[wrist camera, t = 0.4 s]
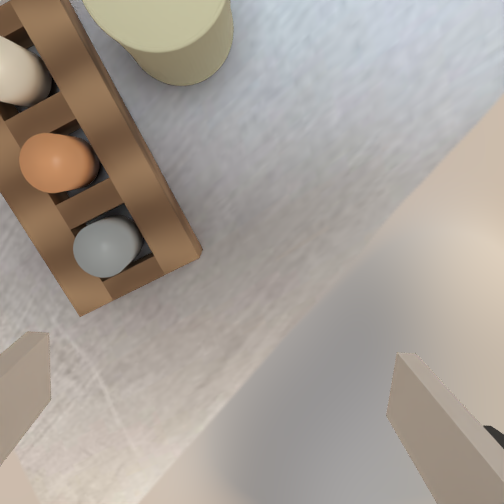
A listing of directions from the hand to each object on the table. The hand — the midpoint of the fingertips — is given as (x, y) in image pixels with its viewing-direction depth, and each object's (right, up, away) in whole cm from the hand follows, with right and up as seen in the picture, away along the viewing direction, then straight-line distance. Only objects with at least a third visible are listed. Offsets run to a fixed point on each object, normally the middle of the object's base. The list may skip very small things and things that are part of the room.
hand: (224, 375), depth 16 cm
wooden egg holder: (-14, +13, +22) cm, 29 cm away
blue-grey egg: (-11, +6, +21) cm, 25 cm away
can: (-5, +24, +20) cm, 31 cm away
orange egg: (-14, +12, +20) cm, 27 cm away
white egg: (-18, +19, +18) cm, 32 cm away
